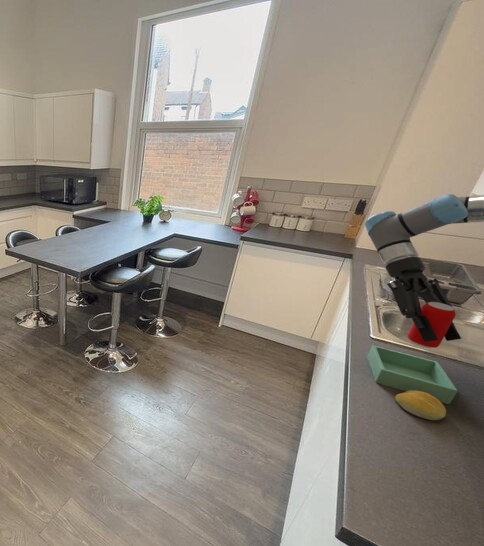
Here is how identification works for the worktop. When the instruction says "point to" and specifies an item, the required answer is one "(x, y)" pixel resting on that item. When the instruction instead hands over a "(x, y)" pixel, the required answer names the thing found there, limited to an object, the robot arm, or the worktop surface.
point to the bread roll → (421, 404)
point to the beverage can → (433, 323)
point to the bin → (410, 373)
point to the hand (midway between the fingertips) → (442, 340)
